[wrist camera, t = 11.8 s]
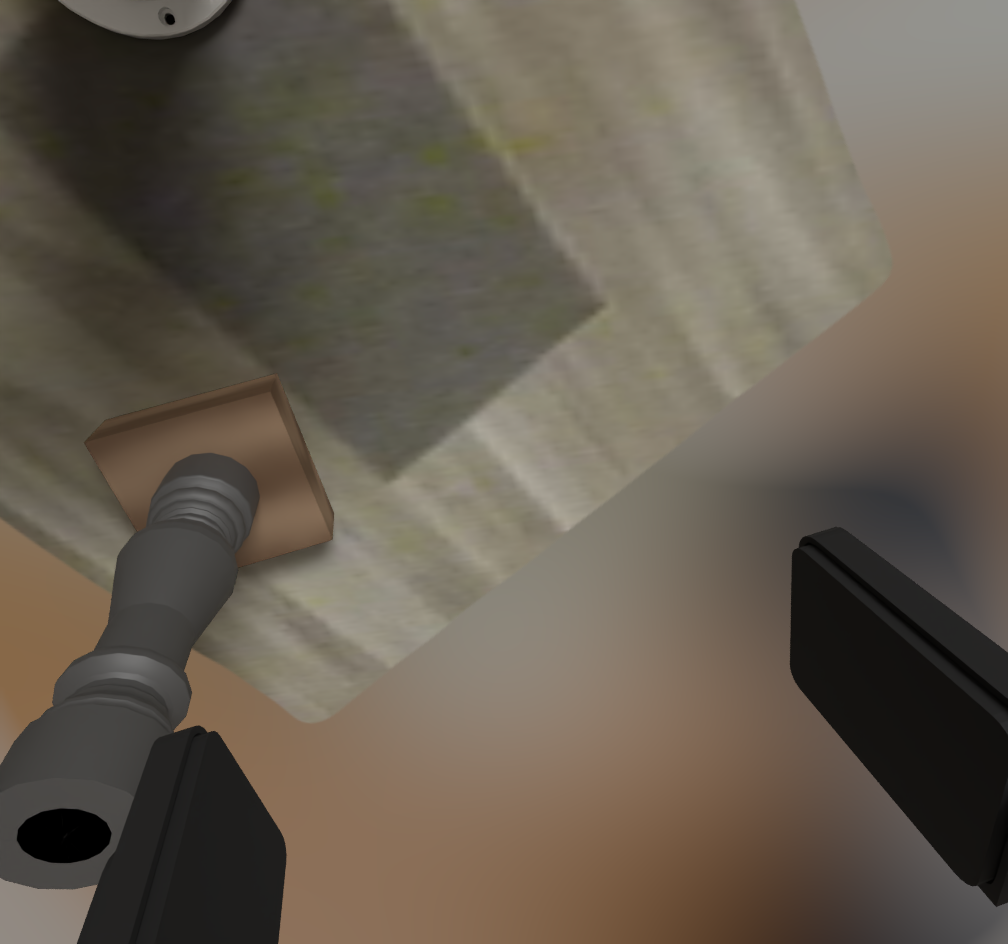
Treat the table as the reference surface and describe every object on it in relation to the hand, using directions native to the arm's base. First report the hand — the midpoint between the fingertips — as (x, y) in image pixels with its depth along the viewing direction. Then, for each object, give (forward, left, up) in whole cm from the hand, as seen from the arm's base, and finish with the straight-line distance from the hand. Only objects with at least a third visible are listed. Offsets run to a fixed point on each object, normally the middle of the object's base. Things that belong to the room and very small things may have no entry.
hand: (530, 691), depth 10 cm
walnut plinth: (+10, -16, -38) cm, 43 cm away
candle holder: (+10, -16, -34) cm, 39 cm away
